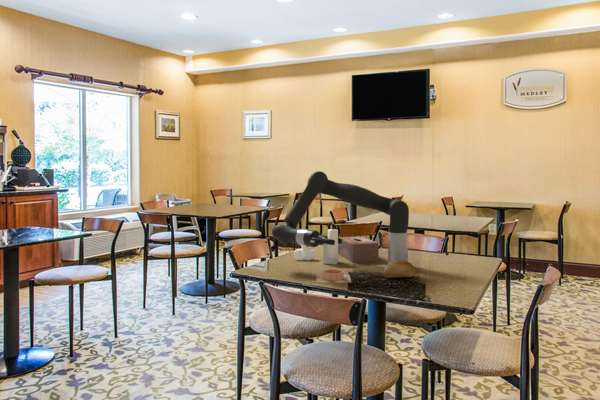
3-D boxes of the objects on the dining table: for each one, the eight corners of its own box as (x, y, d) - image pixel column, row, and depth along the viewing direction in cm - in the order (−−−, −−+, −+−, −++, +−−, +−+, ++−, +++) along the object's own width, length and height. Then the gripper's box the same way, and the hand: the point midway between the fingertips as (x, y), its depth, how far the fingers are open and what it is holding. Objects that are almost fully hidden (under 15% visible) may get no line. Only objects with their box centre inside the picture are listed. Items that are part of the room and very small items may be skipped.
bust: (315, 263, 262) (314, 245, 268) (316, 257, 255) (315, 238, 262) (293, 263, 261) (293, 245, 267) (293, 257, 255) (293, 238, 261)
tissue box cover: (378, 261, 255) (378, 243, 254) (352, 263, 252) (352, 244, 251) (362, 253, 280) (362, 236, 279) (338, 254, 277) (338, 237, 276)
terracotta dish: (343, 275, 215) (343, 269, 214) (344, 280, 205) (344, 273, 205) (322, 275, 215) (322, 269, 215) (322, 280, 206) (322, 273, 205)
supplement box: (337, 264, 247) (337, 240, 246) (322, 264, 249) (322, 239, 248) (338, 261, 254) (338, 237, 254) (324, 261, 256) (324, 237, 255)
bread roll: (419, 279, 214) (419, 261, 213) (386, 280, 212) (386, 262, 212) (412, 274, 223) (412, 257, 223) (380, 275, 222) (380, 258, 221)
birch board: (349, 277, 217) (349, 274, 217) (351, 286, 202) (351, 282, 202) (316, 277, 218) (316, 274, 218) (315, 285, 203) (315, 282, 203)
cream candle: (337, 256, 212) (337, 226, 211) (338, 258, 207) (338, 228, 206) (327, 256, 212) (327, 226, 211) (327, 258, 207) (327, 228, 206)
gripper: (297, 231, 213) (327, 234, 202) (318, 228, 224) (348, 231, 212) (297, 248, 214) (327, 252, 202) (318, 244, 224) (347, 248, 213)
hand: (337, 241), depth 207 cm, fingers closed on cream candle, 4 cm apart
